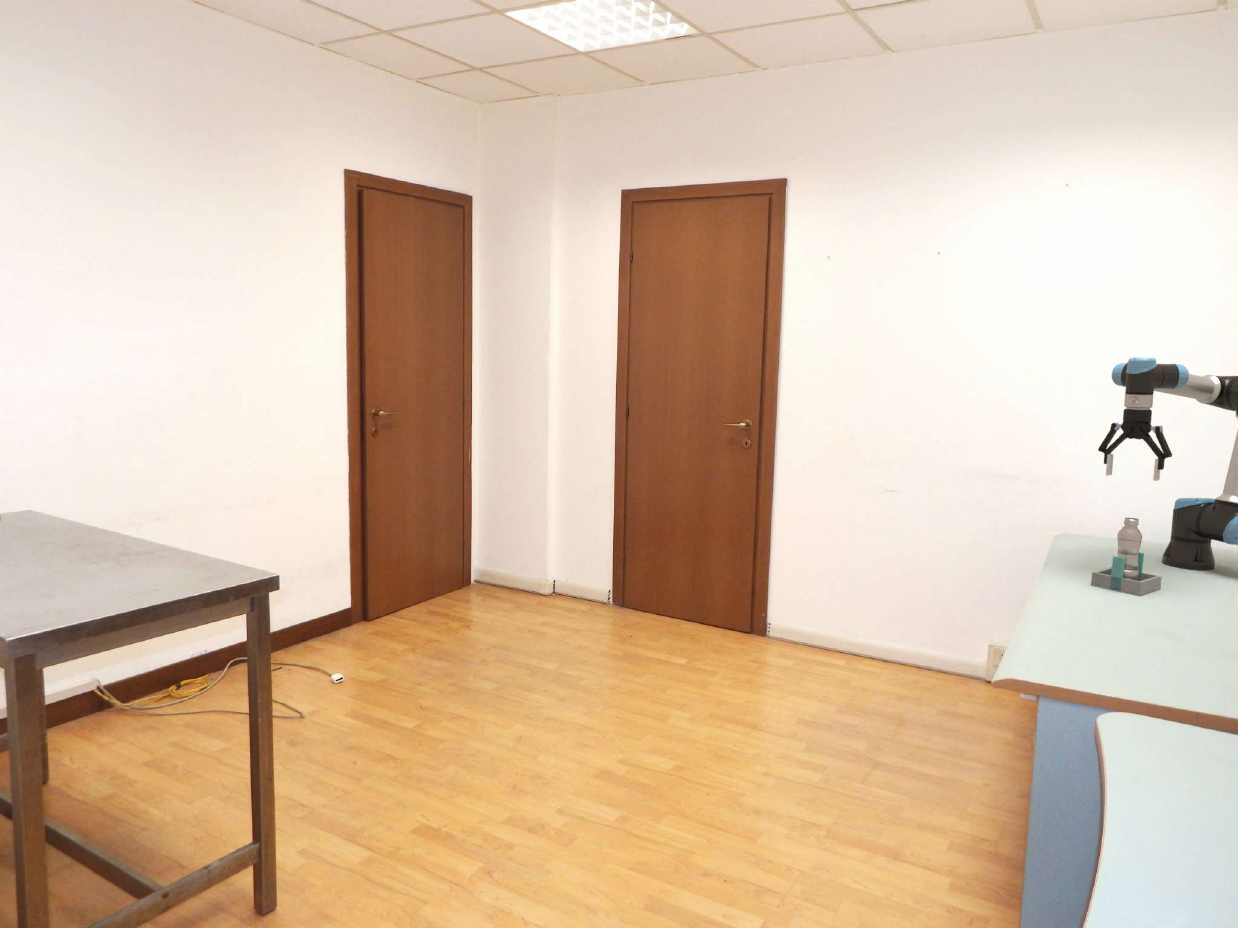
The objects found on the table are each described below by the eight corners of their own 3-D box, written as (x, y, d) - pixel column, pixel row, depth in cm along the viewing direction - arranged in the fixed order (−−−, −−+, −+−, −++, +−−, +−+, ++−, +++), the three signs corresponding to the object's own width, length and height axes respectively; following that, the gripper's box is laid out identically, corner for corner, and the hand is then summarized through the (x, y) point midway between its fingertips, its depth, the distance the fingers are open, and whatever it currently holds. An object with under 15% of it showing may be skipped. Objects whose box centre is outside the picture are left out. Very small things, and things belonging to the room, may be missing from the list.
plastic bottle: (1141, 587, 270) (1148, 521, 267) (1116, 585, 271) (1123, 519, 269) (1133, 582, 276) (1140, 517, 274) (1109, 580, 277) (1115, 516, 275)
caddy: (1111, 579, 283) (1115, 547, 282) (1160, 589, 273) (1163, 556, 271) (1090, 585, 275) (1094, 552, 274) (1139, 595, 264) (1143, 562, 263)
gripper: (1090, 406, 283) (1084, 473, 286) (1178, 411, 264) (1172, 483, 267) (1100, 405, 288) (1095, 471, 291) (1188, 410, 269) (1181, 481, 272)
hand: (1132, 477), depth 279 cm, fingers open, 13 cm apart
